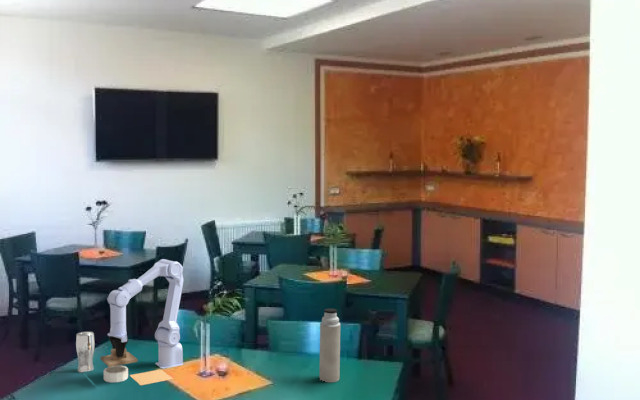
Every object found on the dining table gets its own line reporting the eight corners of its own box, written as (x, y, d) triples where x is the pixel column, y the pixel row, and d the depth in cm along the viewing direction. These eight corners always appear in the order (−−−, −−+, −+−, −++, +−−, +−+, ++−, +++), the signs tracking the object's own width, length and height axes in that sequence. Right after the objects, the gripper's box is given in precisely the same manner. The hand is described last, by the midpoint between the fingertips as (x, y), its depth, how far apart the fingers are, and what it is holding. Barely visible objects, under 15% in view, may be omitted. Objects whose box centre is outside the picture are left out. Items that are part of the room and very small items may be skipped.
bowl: (123, 374, 260) (123, 364, 260) (130, 380, 253) (130, 370, 253) (101, 378, 255) (101, 368, 255) (108, 385, 248) (107, 374, 248)
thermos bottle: (323, 374, 263) (324, 306, 261) (342, 376, 261) (343, 308, 258) (316, 380, 256) (317, 310, 253) (335, 383, 253) (337, 312, 251)
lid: (128, 354, 261) (128, 343, 261) (137, 361, 252) (137, 350, 252) (100, 359, 255) (100, 347, 255) (109, 367, 246) (108, 355, 246)
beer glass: (88, 373, 260) (88, 336, 259) (73, 372, 261) (72, 335, 260) (98, 368, 267) (97, 332, 265) (82, 366, 268) (82, 330, 267)
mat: (161, 370, 265) (161, 369, 265) (173, 380, 254) (173, 378, 254) (129, 376, 258) (129, 375, 257) (140, 386, 247) (140, 385, 247)
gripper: (102, 318, 256) (102, 352, 257) (113, 327, 244) (114, 362, 245) (120, 316, 260) (120, 349, 261) (132, 324, 248) (132, 359, 249)
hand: (118, 355), depth 253 cm, fingers closed on lid, 3 cm apart
